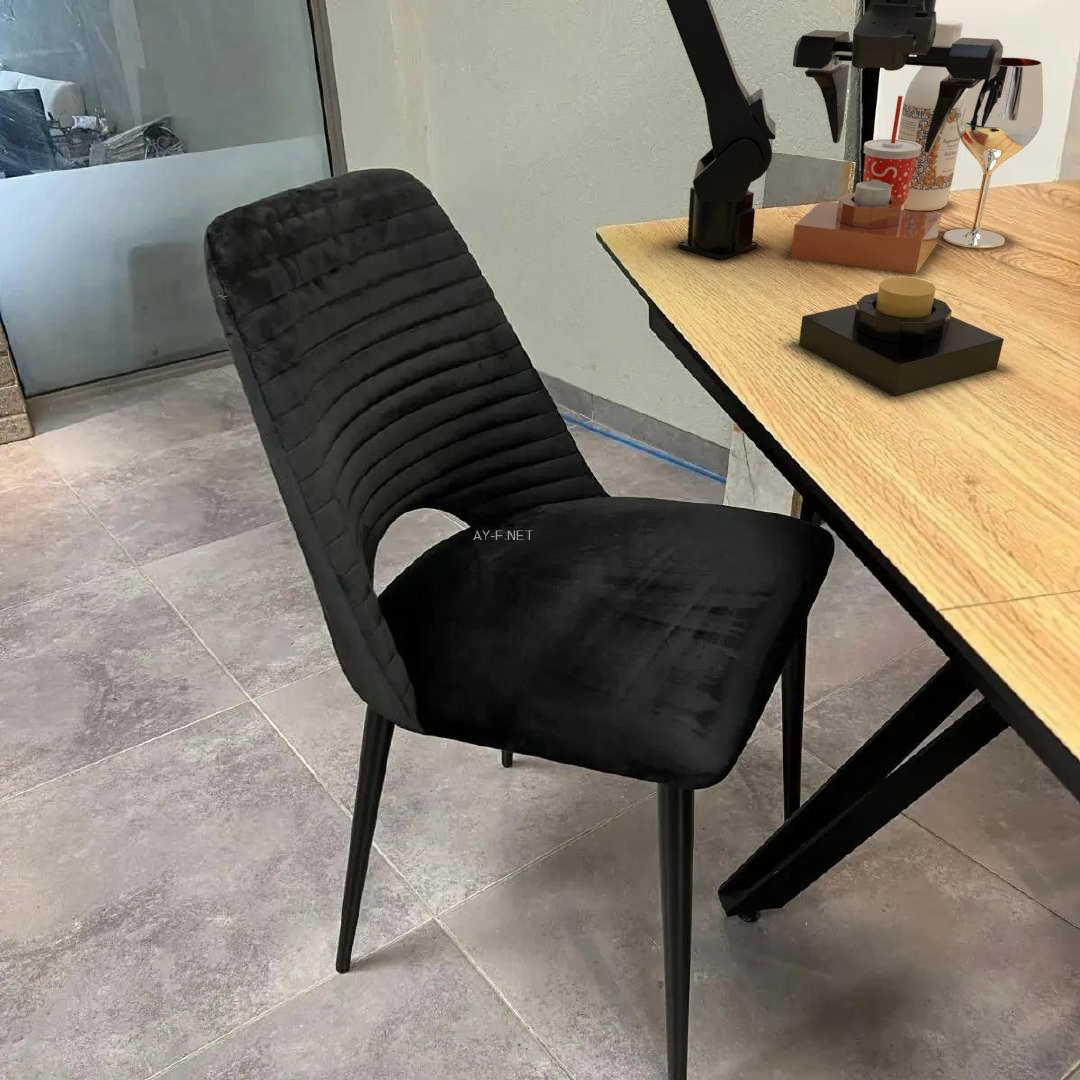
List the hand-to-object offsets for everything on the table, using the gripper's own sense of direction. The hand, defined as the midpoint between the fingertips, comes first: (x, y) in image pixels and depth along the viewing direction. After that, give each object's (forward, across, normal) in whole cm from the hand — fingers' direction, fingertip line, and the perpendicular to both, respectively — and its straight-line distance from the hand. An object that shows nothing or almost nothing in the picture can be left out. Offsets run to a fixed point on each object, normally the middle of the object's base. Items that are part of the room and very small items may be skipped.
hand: (881, 146), depth 104 cm
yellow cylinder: (+7, +10, -26) cm, 29 cm away
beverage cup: (+11, -1, +10) cm, 15 cm away
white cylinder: (+6, 0, 0) cm, 6 cm away
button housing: (+11, 0, 0) cm, 11 cm away
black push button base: (+11, +10, -26) cm, 30 cm away
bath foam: (+11, +1, +21) cm, 24 cm away
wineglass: (+11, +9, +10) cm, 18 cm away
